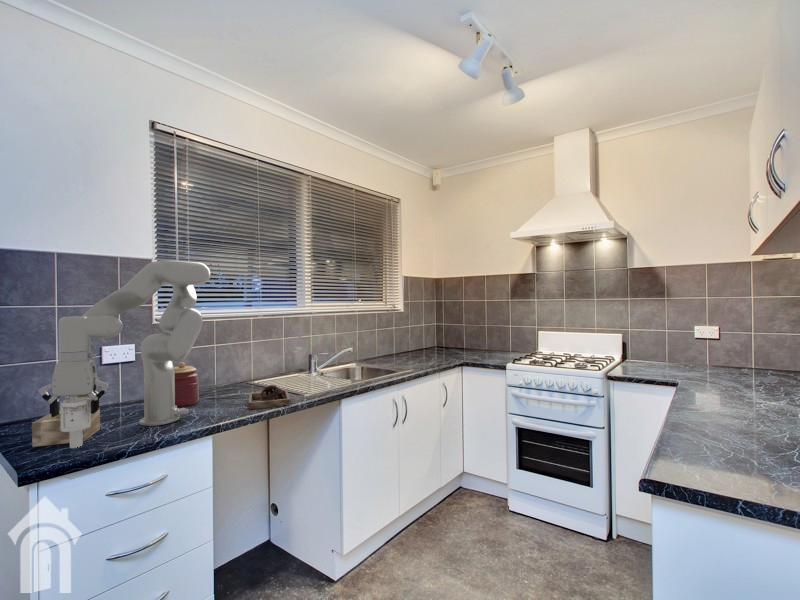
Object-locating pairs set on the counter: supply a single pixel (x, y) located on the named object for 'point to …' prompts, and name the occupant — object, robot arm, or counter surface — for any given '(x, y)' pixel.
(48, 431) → the beech holder block
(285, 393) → the wooden tray
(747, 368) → the counter surface
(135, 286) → the robot arm
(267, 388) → the dark brown rounded lump
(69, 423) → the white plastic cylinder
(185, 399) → the canister
